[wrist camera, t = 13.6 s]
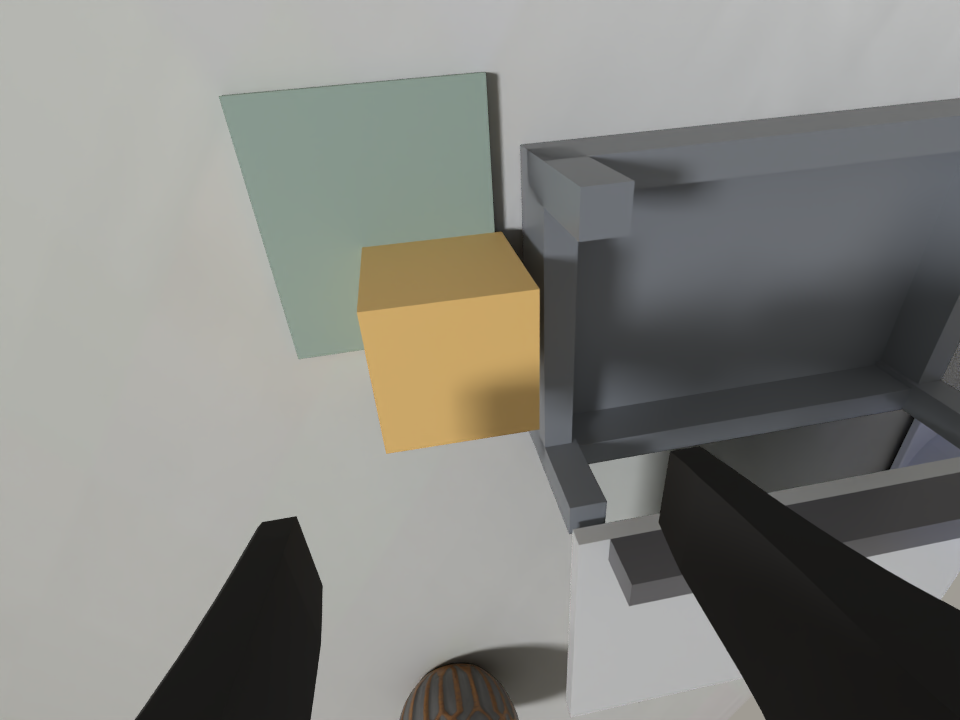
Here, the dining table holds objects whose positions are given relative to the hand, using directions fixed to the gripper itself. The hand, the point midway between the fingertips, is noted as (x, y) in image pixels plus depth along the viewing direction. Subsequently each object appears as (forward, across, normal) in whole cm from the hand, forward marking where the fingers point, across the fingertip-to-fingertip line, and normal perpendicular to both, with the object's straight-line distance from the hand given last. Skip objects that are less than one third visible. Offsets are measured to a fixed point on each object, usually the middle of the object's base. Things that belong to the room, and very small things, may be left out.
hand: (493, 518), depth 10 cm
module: (+9, 0, 0) cm, 9 cm away
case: (+9, -11, 0) cm, 14 cm away
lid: (+4, -11, +11) cm, 16 cm away
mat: (+9, +2, -3) cm, 10 cm away
